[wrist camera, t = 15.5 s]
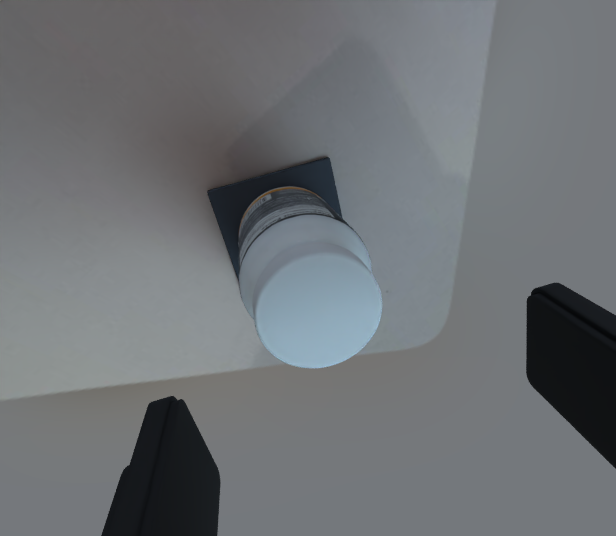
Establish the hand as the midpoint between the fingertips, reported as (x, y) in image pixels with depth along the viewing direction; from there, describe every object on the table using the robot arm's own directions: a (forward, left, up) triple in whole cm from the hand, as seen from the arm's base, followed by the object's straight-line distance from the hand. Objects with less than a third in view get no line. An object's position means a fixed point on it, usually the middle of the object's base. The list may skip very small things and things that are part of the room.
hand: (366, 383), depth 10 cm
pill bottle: (0, 0, -14) cm, 14 cm away
